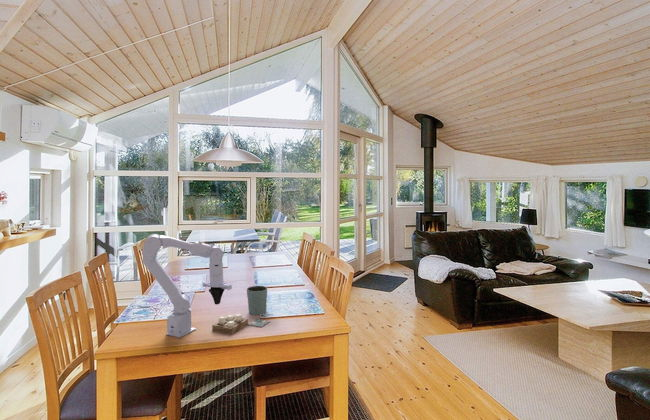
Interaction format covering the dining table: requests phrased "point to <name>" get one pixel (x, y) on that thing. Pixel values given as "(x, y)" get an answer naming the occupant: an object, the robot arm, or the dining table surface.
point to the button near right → (230, 323)
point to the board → (227, 329)
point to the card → (259, 323)
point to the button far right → (238, 318)
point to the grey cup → (257, 299)
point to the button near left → (221, 320)
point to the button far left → (230, 317)
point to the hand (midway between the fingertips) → (217, 303)
